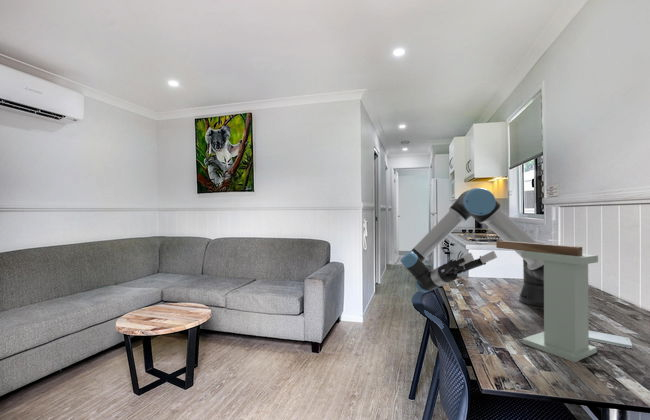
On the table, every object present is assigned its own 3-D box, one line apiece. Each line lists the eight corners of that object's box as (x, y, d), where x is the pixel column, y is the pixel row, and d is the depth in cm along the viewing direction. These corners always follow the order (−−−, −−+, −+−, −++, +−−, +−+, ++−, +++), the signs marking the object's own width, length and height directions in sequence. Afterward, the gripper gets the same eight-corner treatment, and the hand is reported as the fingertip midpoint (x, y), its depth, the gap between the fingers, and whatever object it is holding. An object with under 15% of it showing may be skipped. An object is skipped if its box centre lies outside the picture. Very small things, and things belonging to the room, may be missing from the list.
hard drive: (629, 337, 100) (579, 328, 108) (632, 345, 93) (579, 334, 101) (629, 342, 100) (579, 332, 108) (632, 351, 93) (579, 339, 101)
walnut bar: (501, 247, 110) (501, 240, 110) (582, 255, 89) (582, 246, 89) (496, 247, 109) (496, 240, 109) (577, 256, 88) (577, 247, 88)
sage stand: (541, 334, 104) (541, 249, 104) (601, 353, 90) (600, 255, 90) (519, 342, 98) (518, 251, 98) (579, 363, 84) (578, 257, 84)
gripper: (467, 280, 136) (508, 262, 120) (426, 285, 124) (466, 266, 108) (460, 264, 140) (499, 244, 123) (419, 268, 128) (457, 247, 112)
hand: (483, 255), depth 116 cm, fingers open, 13 cm apart
